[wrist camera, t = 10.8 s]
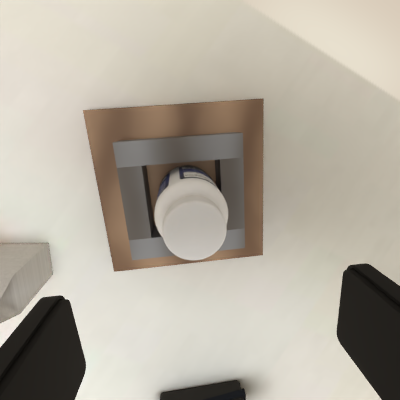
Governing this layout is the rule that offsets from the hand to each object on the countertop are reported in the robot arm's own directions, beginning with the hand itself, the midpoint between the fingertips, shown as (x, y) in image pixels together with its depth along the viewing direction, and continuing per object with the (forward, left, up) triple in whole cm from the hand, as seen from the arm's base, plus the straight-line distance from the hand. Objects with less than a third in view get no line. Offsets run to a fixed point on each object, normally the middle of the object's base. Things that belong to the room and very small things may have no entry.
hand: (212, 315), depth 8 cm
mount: (0, 0, -18) cm, 18 cm away
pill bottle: (0, 0, -17) cm, 17 cm away
